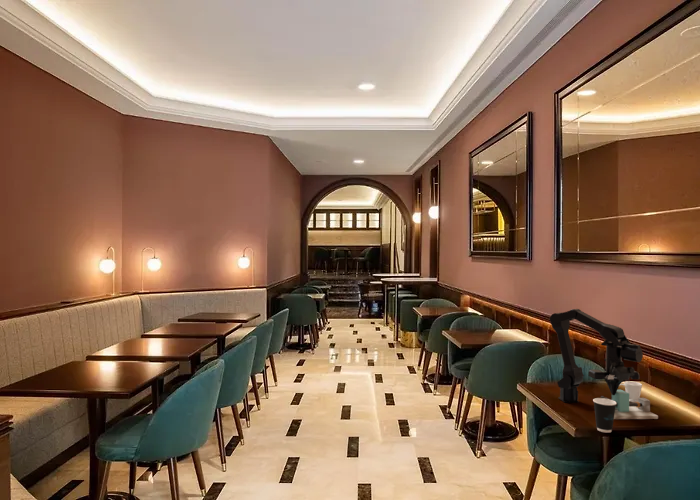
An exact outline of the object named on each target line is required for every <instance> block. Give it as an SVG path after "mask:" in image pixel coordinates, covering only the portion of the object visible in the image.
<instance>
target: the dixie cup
mask: <svg viewBox="0 0 700 500" xmlns="http://www.w3.org/2000/svg"><path fill="white" fill-rule="evenodd" d="M605 398H606V397H604V398H601V397H596V398H593V399H592V401H593V404H594V405H593V408H594V415H595V425H596V429H597V431H599V432H601V433H612V431H613V427H614V420H615V419H614V414H615V406H616V404H617V403H616V402H615V401H613V400H612V399H610V398H607V399H605Z"/></svg>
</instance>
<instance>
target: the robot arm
mask: <svg viewBox="0 0 700 500" xmlns="http://www.w3.org/2000/svg"><path fill="white" fill-rule="evenodd" d="M574 320H576V321H578V322H579V323H582V324H583V325H585V326H587V327H589V328H591V329H592V330H594V331H596V332H597V333H599V335H600V336H601V337H602V338H603V339H604V340H603V342H601V343H600V345H601V346H605V347H606V348H605V349H606V351H605V352H606V353H605V358H604V359H603V360H604V362H605V368H604V369H603V370H604V371H602V370H601V369H589V371H588V374H587V375H588V377H590V378H591V379H594V380H604V381H605V383H606V385H607V387H608V389H609V391H610V395H611V396H612V395H615V394H616V392H617V389H618V390H619V387H620V386H621V385H620V384H623V382H626V381H630V379H631V380H640V373H639V372H638V371H635V368H634V367H633V366H628V367H627V366H625V362H624V361H630V362H635V363H641V362H642V360H643V358H644V353H643V350H642V348H641V345H640V344H633V343H632V344H631V342H630V340H629V339H628V338H627V336H626V335H625V332H624V330H623V328H622V327H619V326H617V325H614V324H608V323H606V322H603V321H601V320H599V319H597V318H596V317H593V316H592V315H589V314H588V313H586V312H584V311H583V310H581V309H580V308H574V309H570V310H567V311H564V312H556V313H555V312H554V313H552V314H551V315H550V317H549V322H550V325H551V327H552V329H553V330H554V331H555V333H556V335H557V340H558V344H559V349H560V352H561V358H562V363H563V369H562V373H561V374H562V377H561V379H559V380H558V381H557V386H558V388H559V396H558V398H557V399H559V400H560V401H562V402H563V403H567V404H568V403H569V404H570V403H573V404H574V403H579V402H580V401H579V391H578V387H580V385H581V383H582V382H583V381H584V377H585V375H584V373H583V368H582V366H578V365H577V363H576V360H575V355H574V351H573V346H572V342H571V338H570V333H569V330H570V326H571V323H570V321H574ZM623 360H624V361H623ZM619 385H620V386H619Z"/></svg>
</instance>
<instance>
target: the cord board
mask: <svg viewBox="0 0 700 500" xmlns="http://www.w3.org/2000/svg"><path fill="white" fill-rule="evenodd" d="M600 398H605V399H608V397H605V396H604V395H600ZM615 407H618V403H617V404H616V406H615ZM653 419H654V420H658V419H659V415H657V414H655V413H653V412H651V400H649V399H647V398H645V397H639V398H638V402H629V412H619V411H618V408H615V414H614V420H653Z"/></svg>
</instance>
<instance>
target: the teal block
mask: <svg viewBox="0 0 700 500" xmlns="http://www.w3.org/2000/svg"><path fill="white" fill-rule="evenodd" d="M611 400H613V401H615V402H616V403H618V407H615V408H618V411H619V412H629V403H630V402H629V393H627V392H626V390H622V389H618V390H617V392H616V394H615V395H612V394H611Z"/></svg>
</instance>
